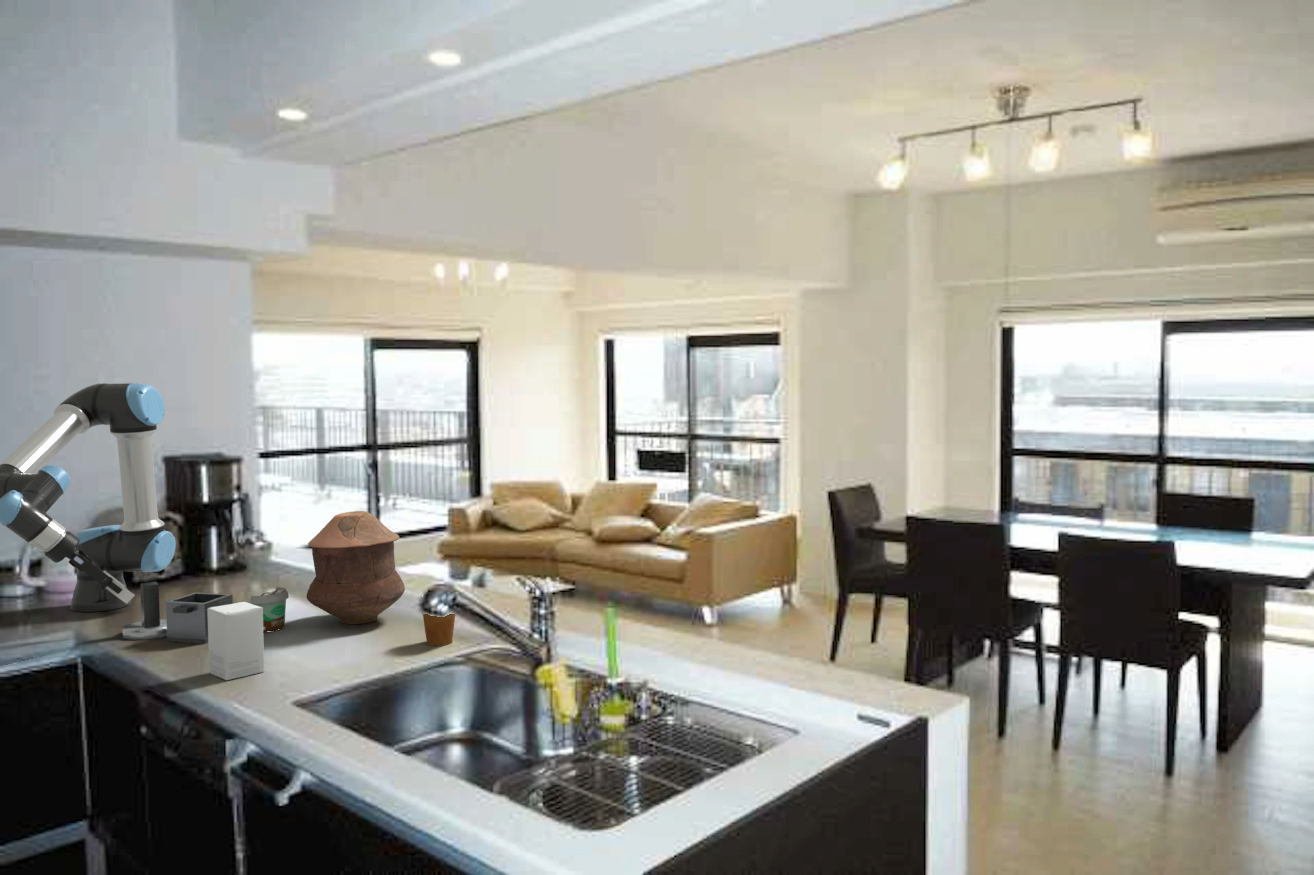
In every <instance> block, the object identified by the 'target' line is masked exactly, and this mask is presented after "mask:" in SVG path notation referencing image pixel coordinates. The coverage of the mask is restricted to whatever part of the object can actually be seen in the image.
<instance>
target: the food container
mask: <svg viewBox="0 0 1314 875" xmlns="http://www.w3.org/2000/svg"><path fill="white" fill-rule="evenodd" d="M289 597H290V595H289V592H288V590H287V588H286V587H283V586H275V590H273V591H269V592H264V593H262V594H260V595H250V599H249V603H250V604H253V605H256V606H259V607H263V632H267V631H274V632H277V631H276V630H278V629H281V630H283V629H284V628H285V626H286V624H285V623H286V605H287V600H288V599H289ZM283 627H284V628H283ZM282 628H283V629H282ZM278 631H279V630H278ZM267 633H268V632H267Z"/></svg>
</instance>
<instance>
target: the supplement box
mask: <svg viewBox="0 0 1314 875" xmlns="http://www.w3.org/2000/svg"><path fill="white" fill-rule="evenodd" d="M207 611H208V643H207V644H208V645H207V646H208V673H209V674H211V675H212V676H213V675H214V676H215V677H218V678H219V679H222V680H224V681H230V680H234V679H239V678H243V677H248V676H252V675H255V674H261V673H264V672H265V659H264V658H265V654H264V650H265V649H264V643H265V642H264V633H263V607H259V606H256V605H253V604H250V602H246V601H241V602H234V603H233V604H229V605H222V606H216V607H211V608H208V609H207Z"/></svg>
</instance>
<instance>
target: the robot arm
mask: <svg viewBox="0 0 1314 875" xmlns="http://www.w3.org/2000/svg"><path fill="white" fill-rule="evenodd" d="M163 399H164V398H163V397H162V395H161V393H160V392H159V391H158V390H157V389H156V387H155V386H153V385H150V384H146V383H145V384H144V383H138V382H136V383H135V382H133V383H132V382H130V383H128V382H127V383H125V382H124V383H106V382H105V383H96V384H92V385H89V386H86V387H84V388H82V389H80V390H78V391H76V392H75V393H73V394H71V395H70V396H68V397H67V398H66V399H64V400H63V401H61V403H59V404H58V405H57V406H56V408H54V411H53V415H52V416H51V417H50V418H49V419H48V420H47V421H46V422H44V424H42V425H41V426H40V427H39V428H38V429H37V430H36V431H35V432H33V434H31V435H30V436H29V437H28V438H27V439H26V440H25V441H24V442H23V443H22V444H21V445H20V446H19V447H17V448H16V449H15V450H14V451H13V452H12V453H11V454H10V455H9V456H7V457H6V458H5V459H4V460H3V461H2V462H1V463H0V524H1V525H2V526H4V527H5V528H7V529H8V530H10V531H11V532H13V533H14V534H16V535H17V536H18V537H19V538H21V539H22V540H24V541H25V542H27V543H28V544H30V545H29V548H30V549H34V548H35V549H36V550H38V551H39V552H41V553H43V552H44V555H45V557H47V558H48V559H49V560H51V561H52V562H54V563H56V564H57V563H60V562H62V561H64V559H65V558H67V559H69V560H68V561H67V562H68V564H69V565H70V566H72V567H73V568H76V583H75V587H74V591H73V594H72V598H71V599H70V610H71V611H73V612H80V613H92V612H93V613H94V612H95V613H96V612H104V611H113V610H116V609H121V608H124V607H128V606H130V605H131V604H132V602H131V601H132V599H133V598H134V597H135V596H136V595H135V593H133V592H131V591H130V590H128V587H127V584H126V581H125V579H124V572H141V573H151V572H161V571H162V570H164V569H166V568H167V567H168V566H169V565H170V563H171V561H172V559H174V556H175V553H176V547H177V546H176V538H175V536H174V535H173V533H172V532H171V531H168V530H166V524H165V522H164V521H163V520H161V519H160V518H159V512H158V511H159V510H158V501H157V500H158V498H157V488H156V487H157V486H156V478H155V477H156V475H155V464H154V462H155V461H154V454H153V453H154V452H153V442H152V436H153V434H155V432H157V429H158V428H157V425H159V424H160V423H161V422H162V421H163V419H164V416H165V411H166V410H165V403H164V400H163ZM100 425H104V426H105V425H106V426H109V432H110V434H111V435H112V436H113V437H115V438H116V441H117V452H118V453H117V454H118V465H119V474H120V475H119V476H120V485H121V497H122V498H121V499H122V505H123V506H122V508H123V518H124V519H123V522H122V524H112V525H111V524H110V525H103V526H98V527H92V528H91V527H90V528H86V529H83V530H80V531H78V532H77V533H76V535H75V534H74V533H72V532H71V531H67V529H66V527H64V526H63V525H62V524H60V523H59V522H58V521H57V520H55V518H53V517H51V516H50V515H49V514H47V512H48V511H49V510H50V509H51V508H52V507H53V505H54V504H55V503H56V502H57V501H58V500H59V499H60V497H62V496H63V495H64V494H65V491H67V489H68V487H69V486H70V484H71V478H70V475H69V474H68V472H67V471H66V470H65V469H63V468H61V467H60V466H57V465H55V464H48V463H49V462H50V461H51V460H52V459H53V458H54V457H55V456H56V455H57V454H58V453H59V452H60V451H62V450H63V449H64V447H65V446H67V445H68V444H69V443H70V442H71V441H72V440H73V439H74V438H75V437H76V436H77V435H79V434H84V433H86V432H87V431H88V430H89V429H90V428H93V427H96V426H100Z"/></svg>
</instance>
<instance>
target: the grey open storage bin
mask: <svg viewBox="0 0 1314 875" xmlns="http://www.w3.org/2000/svg"><path fill="white" fill-rule="evenodd" d="M229 604H234V603H233V594H230V593H215V592H213V593H212V592H210V593H209V592H193V593H189V594H187V595H183V596H180V597H178V598H177V597H176V598H173V599H171V600H167V601H165V611H166V613H165V615H166V617H165V619H166V621H167V636H166V641H167V642H174V641H178V642H177V643H189V642H191V643H190V644H203V645H204V644H205V645H206V644H208V611H207V609H208V608H211V607H216V606H222V605H229Z"/></svg>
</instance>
